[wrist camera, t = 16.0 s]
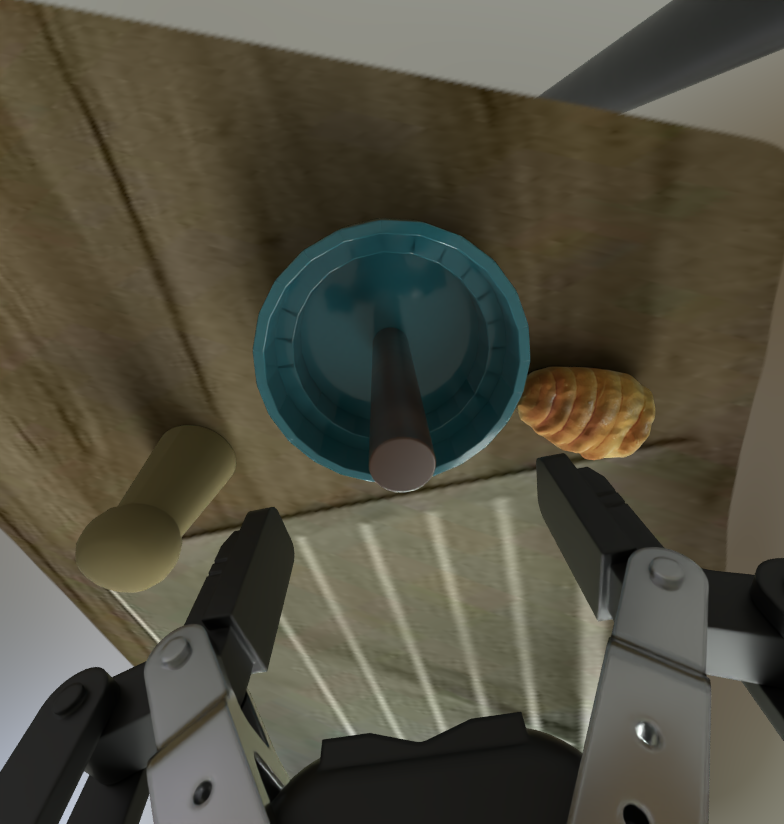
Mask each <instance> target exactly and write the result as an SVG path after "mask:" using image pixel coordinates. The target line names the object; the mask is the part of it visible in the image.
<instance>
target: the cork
mask: <svg viewBox="0 0 784 824" xmlns="http://www.w3.org/2000/svg"><path fill="white" fill-rule="evenodd" d="M235 467H236V459H235V454H234V452H233V450H232V448H231V446H230V444H229V443H228V442H227V441H226V440H225V439H224V438H223V437H222V436H220V435H219V434H217V433H215V432H213V431H212V430H210V429H207V428H204V427H200V426H196V425H182V426H178V427H174V428H172V429H170V430H169V431H167V432H166V433H164V434H163V436H162V437H161V439H160V440H159V442H158V444H157V445H156V447H155V448H154V450H153V451H152V453H151V455H150V456H149V458H148V459H147V461H146V462H145V464H144V466H143V467H142V469H141V470H140V472H139V473H138V475H137V477H136V478H135V480H134V481H133V483H132V484H131V486H130V488H129V489H128V491H127V492H126V494H125V495H124V497H123V499H122V500H121V502H120V503H119V505H118V506H117V507H113V508H110V509H109V510H107V511H106V512H104V513H102V514H101V515H99V516H98V517H96V518H95V519H93V520H92V521H91V522H90V523H89V524H88V525H87V526H86V528H85V529H84V531H83V532H82V534H81V535H80V537H79V539H78V541H77V543H76V558H75V561H76V563H77V566H78V568H79V570H80V571H81V572H82V573H83V574H84V575H85V577H86V578H88V579H89V580H91V581H92V582H94V583H95V584H97V585H98V586H101V587H103V588H106V589H108V590H113V591H118V592H138V591H143V590H146V589H148V588H150V587H152V586H154V585H155V584H157V583H159V582H161V581H162V580H163V579H164V578H165V577H166V576H167V575H168V574H169V573H170V571H171V570H172V569H173V568H174V566H175V565H176V563H177V561H178V559H179V555H180V551H181V546H182V538H181V537H182V536H183V535H184V533H185V532H186V531H187V530H188V528H189V527H190V526H191V525H192V524H193V522H194V521H195V520H196V519H197V518H198V516H199V515H200V514H201V513H202V512H203V510H204V509H205V508H206V507H207V505H208V504H209V503H210V502H211V501H212V499H213V498H214V497H215V496H216V495H217V493H218V492H219V491H220V490H221V488H222V487H223V486H224V485H225V484H226V482H227V481H228V480H229V479H230V477H231V476H232V475H233V474H234V471H235Z"/></svg>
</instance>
